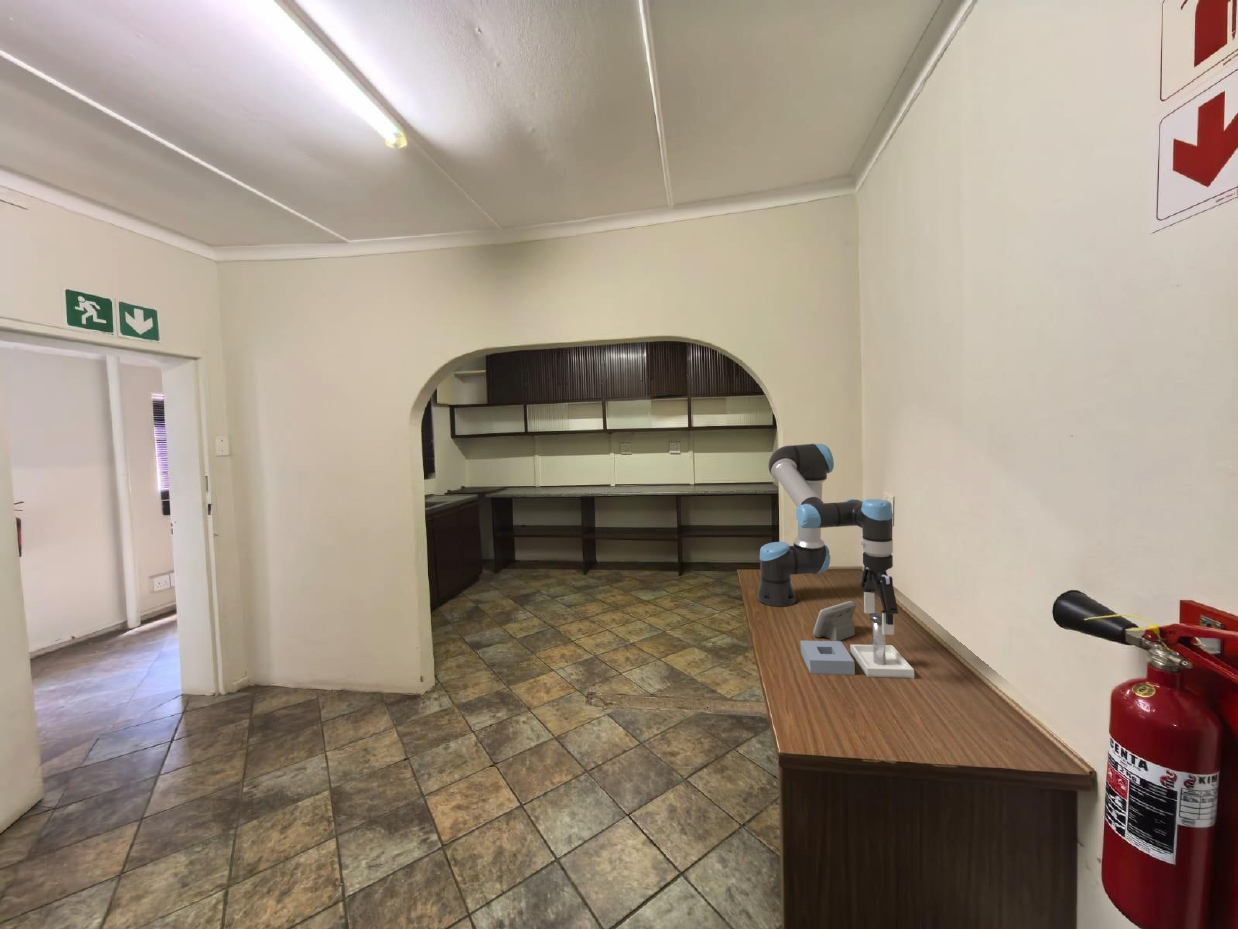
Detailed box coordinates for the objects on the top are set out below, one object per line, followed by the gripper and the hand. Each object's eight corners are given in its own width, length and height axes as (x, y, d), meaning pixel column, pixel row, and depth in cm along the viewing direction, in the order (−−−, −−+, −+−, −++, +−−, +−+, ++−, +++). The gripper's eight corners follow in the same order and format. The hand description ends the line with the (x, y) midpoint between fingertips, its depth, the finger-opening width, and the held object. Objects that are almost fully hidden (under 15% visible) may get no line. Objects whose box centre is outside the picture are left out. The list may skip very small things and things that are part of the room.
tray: (850, 652, 138) (850, 644, 138) (892, 653, 136) (892, 645, 135) (867, 677, 124) (867, 668, 124) (914, 678, 122) (914, 669, 122)
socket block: (800, 652, 140) (800, 640, 139) (841, 653, 137) (840, 641, 137) (810, 673, 128) (809, 660, 127) (854, 674, 126) (854, 661, 125)
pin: (881, 658, 132) (880, 612, 131) (891, 665, 128) (890, 618, 127) (867, 659, 132) (866, 613, 131) (877, 667, 128) (876, 619, 127)
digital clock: (846, 625, 156) (845, 596, 155) (866, 636, 147) (865, 605, 146) (806, 633, 152) (805, 603, 152) (824, 644, 144) (822, 613, 143)
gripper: (849, 541, 140) (850, 605, 142) (881, 567, 116) (882, 644, 118) (874, 540, 139) (875, 605, 141) (912, 567, 115) (912, 644, 117)
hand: (878, 623), depth 129 cm, fingers open, 13 cm apart
